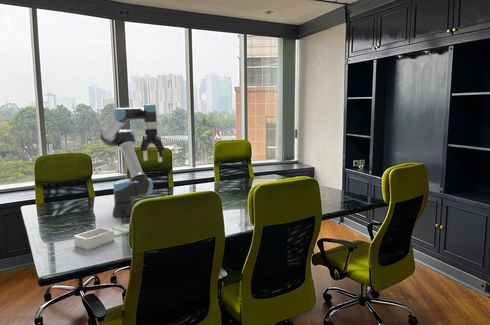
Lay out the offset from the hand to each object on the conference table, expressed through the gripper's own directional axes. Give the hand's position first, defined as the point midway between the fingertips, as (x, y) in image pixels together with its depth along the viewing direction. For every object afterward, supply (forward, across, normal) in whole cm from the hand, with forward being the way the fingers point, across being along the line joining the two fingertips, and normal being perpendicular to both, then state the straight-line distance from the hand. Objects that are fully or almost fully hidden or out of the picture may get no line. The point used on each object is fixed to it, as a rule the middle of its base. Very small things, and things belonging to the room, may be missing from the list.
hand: (152, 161), depth 241 cm
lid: (+37, +6, -29) cm, 47 cm away
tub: (+37, +11, -53) cm, 65 cm away
